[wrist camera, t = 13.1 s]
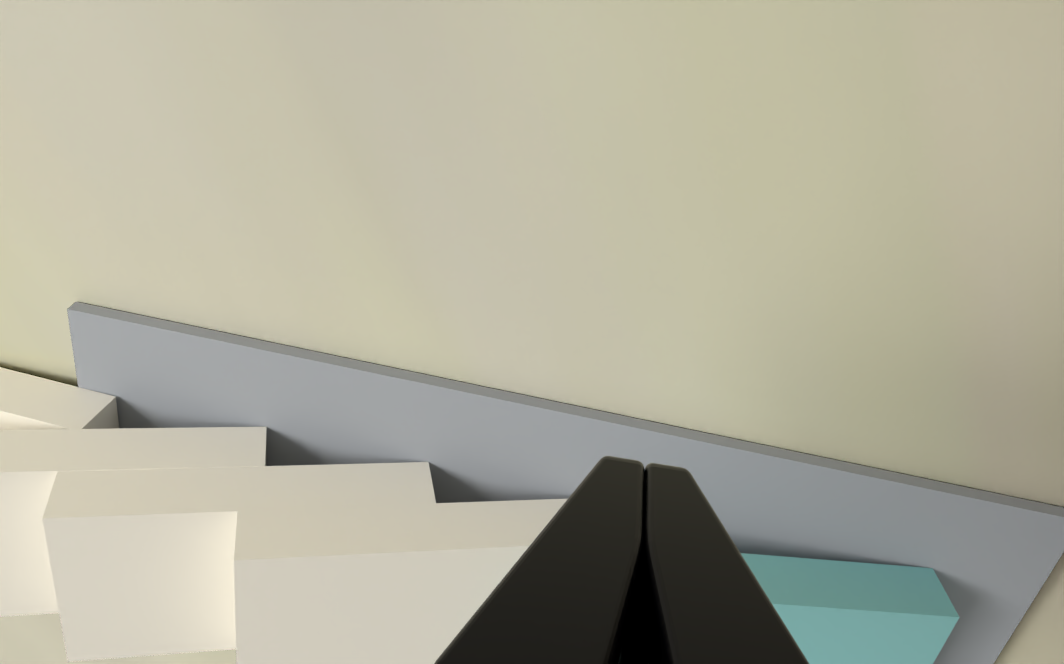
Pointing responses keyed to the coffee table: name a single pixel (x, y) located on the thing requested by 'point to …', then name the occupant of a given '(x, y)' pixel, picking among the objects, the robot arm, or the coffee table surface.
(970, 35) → the coffee table surface
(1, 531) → the domino
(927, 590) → the domino
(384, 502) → the domino
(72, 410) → the domino
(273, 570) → the domino
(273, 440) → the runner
